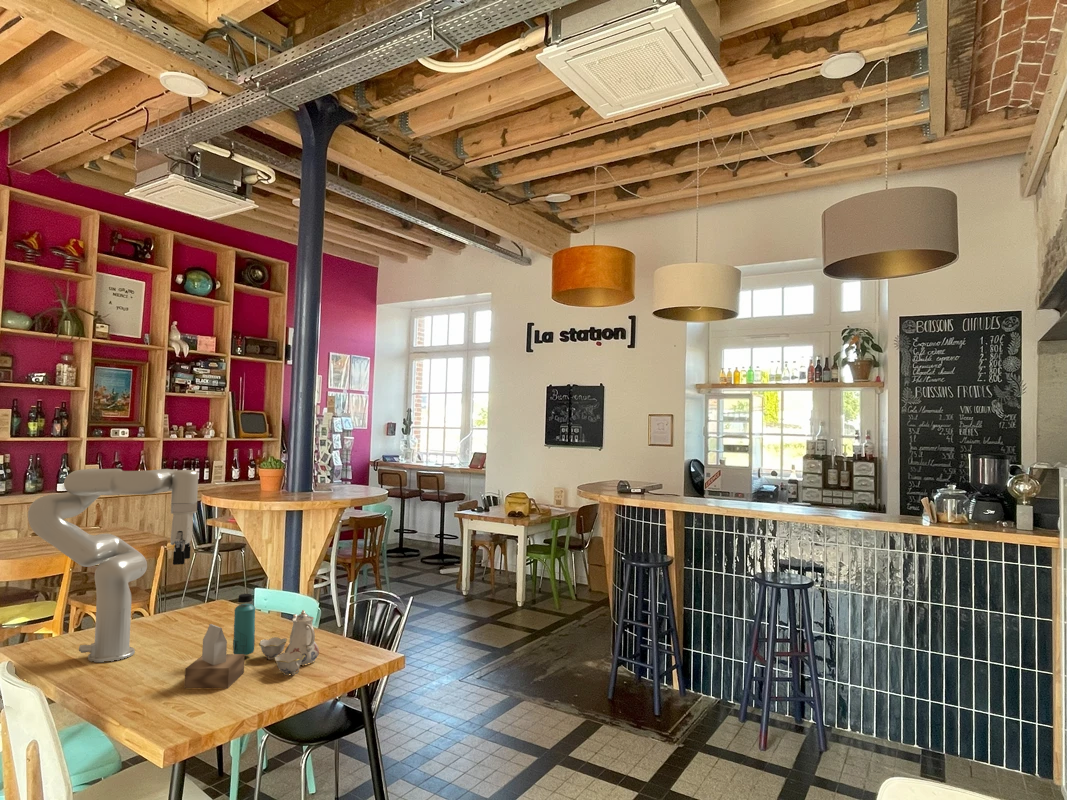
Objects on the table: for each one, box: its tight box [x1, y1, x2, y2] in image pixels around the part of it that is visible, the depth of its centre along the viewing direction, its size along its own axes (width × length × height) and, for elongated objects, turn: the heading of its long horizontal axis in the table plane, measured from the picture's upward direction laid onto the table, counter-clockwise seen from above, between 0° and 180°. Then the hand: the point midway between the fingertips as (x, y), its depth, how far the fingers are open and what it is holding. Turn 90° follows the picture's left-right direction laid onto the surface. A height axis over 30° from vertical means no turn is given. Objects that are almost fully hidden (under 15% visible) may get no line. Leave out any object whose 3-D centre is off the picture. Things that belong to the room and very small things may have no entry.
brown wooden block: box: [183, 653, 246, 689], centre depth 192 cm, size 12×12×6 cm
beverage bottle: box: [232, 593, 256, 656], centre depth 213 cm, size 6×7×20 cm
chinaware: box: [258, 609, 320, 676], centre depth 208 cm, size 28×17×17 cm, turn 42°
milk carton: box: [201, 623, 228, 665], centre depth 193 cm, size 4×7×10 cm, turn 52°
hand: (181, 561), depth 213 cm, fingers open, 9 cm apart
